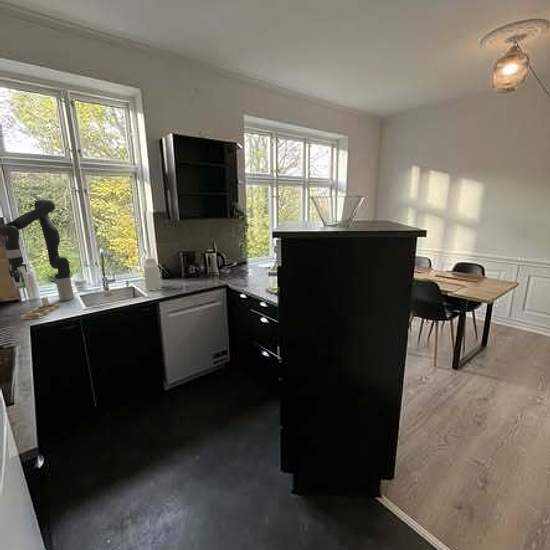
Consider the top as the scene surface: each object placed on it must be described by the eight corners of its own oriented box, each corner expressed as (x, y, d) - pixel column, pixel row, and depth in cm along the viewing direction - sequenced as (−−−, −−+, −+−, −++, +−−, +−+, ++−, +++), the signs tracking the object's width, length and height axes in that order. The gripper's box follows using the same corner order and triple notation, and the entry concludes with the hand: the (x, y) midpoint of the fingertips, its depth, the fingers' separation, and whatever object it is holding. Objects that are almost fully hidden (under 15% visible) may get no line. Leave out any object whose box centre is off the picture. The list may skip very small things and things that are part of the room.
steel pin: (45, 309, 213) (42, 297, 211) (51, 309, 213) (48, 296, 211) (42, 311, 209) (39, 298, 207) (48, 310, 210) (45, 298, 208)
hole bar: (42, 308, 216) (41, 304, 216) (60, 306, 218) (60, 303, 217) (21, 319, 194) (20, 316, 194) (42, 318, 196) (41, 314, 195)
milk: (146, 291, 250) (142, 260, 244) (146, 288, 260) (142, 258, 254) (161, 289, 254) (158, 259, 248) (161, 286, 265) (157, 256, 259)
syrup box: (15, 289, 201) (9, 267, 197) (19, 286, 206) (14, 266, 203) (25, 288, 202) (20, 267, 199) (29, 286, 208) (24, 265, 204)
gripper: (15, 254, 206) (21, 278, 210) (0, 258, 192) (7, 284, 196) (28, 254, 207) (33, 278, 211) (13, 258, 193) (20, 283, 197)
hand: (20, 280), depth 203 cm, fingers closed on syrup box, 6 cm apart
